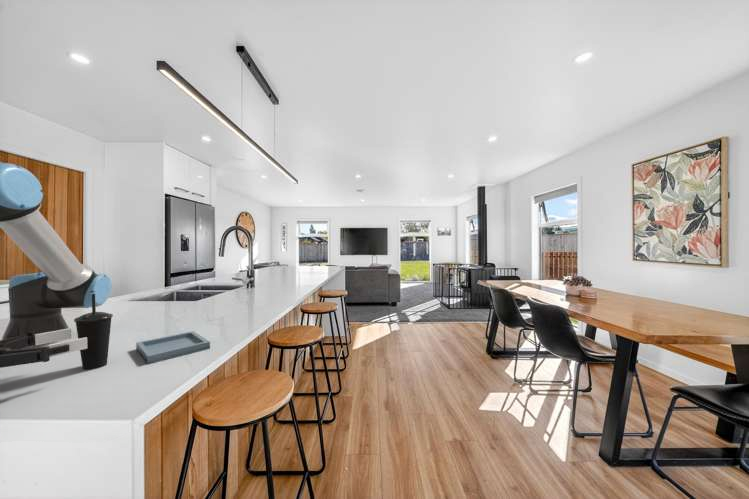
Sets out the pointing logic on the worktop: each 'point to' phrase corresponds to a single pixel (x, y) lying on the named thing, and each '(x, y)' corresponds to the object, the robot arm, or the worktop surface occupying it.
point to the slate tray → (171, 346)
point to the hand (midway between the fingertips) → (78, 337)
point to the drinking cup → (94, 337)
